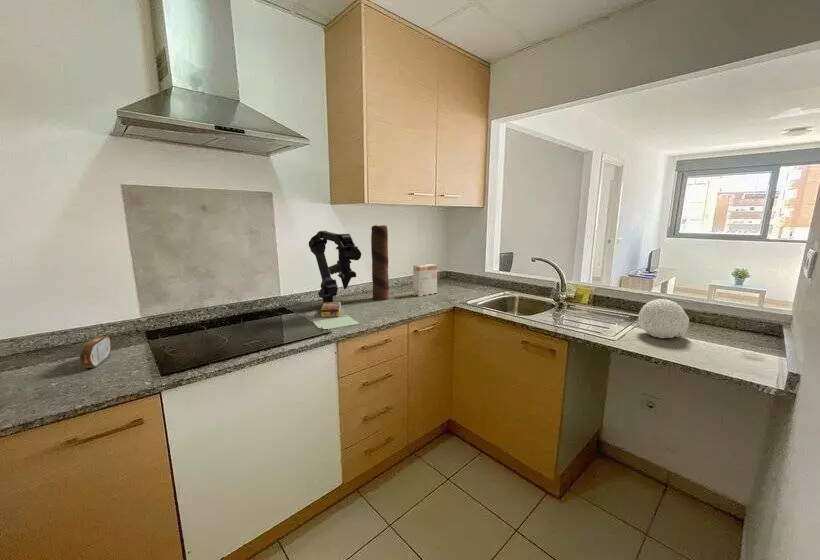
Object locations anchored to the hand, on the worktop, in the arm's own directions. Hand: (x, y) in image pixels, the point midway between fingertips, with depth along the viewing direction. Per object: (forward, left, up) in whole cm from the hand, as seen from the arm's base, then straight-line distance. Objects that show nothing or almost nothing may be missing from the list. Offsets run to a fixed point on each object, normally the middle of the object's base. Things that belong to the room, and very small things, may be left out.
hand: (345, 288), depth 169 cm
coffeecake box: (-16, +61, -13) cm, 64 cm away
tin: (+16, -93, -13) cm, 95 cm away
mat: (+15, -10, -13) cm, 22 cm away
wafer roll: (-19, +30, -13) cm, 37 cm away
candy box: (+4, -9, -11) cm, 15 cm away
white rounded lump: (+100, +103, -13) cm, 144 cm away
